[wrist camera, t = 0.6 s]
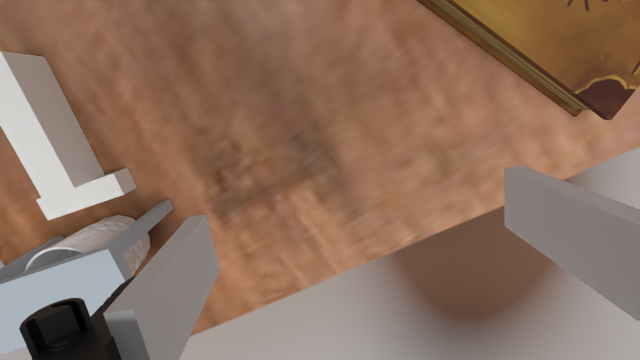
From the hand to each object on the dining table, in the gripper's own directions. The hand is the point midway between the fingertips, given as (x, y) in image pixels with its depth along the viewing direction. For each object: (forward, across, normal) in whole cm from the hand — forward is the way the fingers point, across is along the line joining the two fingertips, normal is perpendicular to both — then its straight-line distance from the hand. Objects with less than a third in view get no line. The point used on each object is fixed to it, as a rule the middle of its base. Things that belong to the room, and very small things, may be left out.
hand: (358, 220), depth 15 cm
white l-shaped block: (+26, -28, +5) cm, 39 cm away
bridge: (+25, -26, -9) cm, 37 cm away
